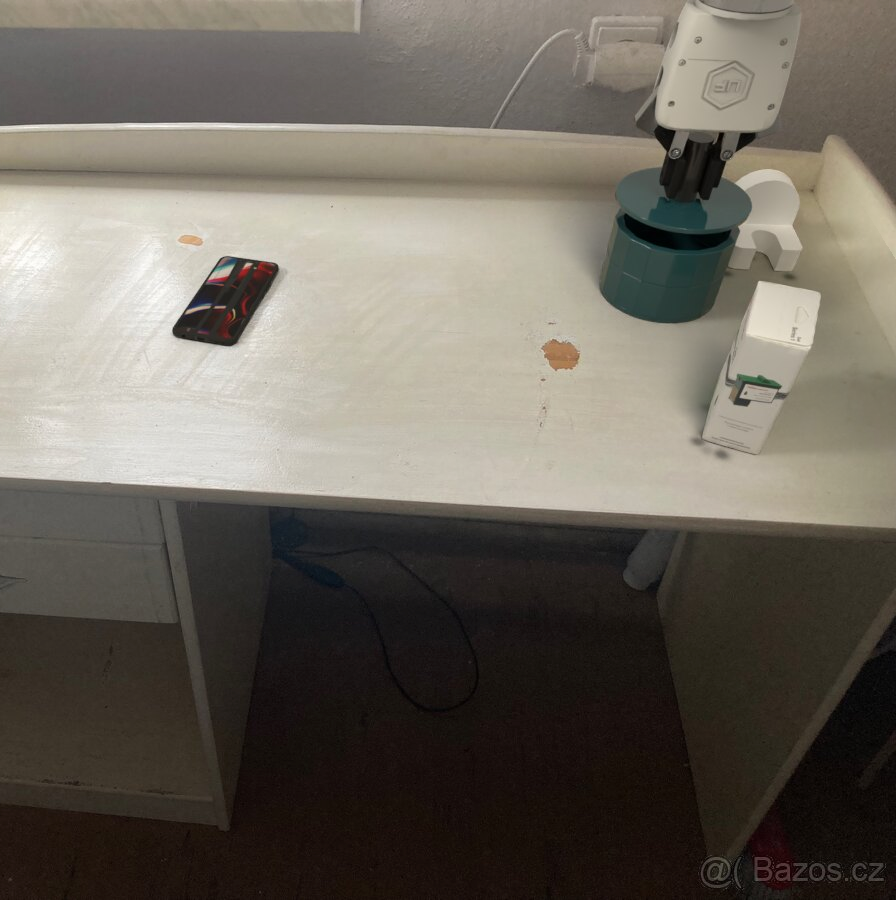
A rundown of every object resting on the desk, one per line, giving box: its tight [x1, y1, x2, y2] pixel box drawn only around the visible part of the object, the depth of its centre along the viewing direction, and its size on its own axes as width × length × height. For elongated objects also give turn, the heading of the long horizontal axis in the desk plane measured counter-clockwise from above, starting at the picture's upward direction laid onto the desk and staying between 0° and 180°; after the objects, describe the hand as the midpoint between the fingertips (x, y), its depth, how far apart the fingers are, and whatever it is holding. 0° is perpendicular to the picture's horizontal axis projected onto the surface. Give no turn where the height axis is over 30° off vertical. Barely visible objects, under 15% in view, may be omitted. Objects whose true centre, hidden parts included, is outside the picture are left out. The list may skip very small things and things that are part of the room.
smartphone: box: [171, 255, 280, 346], centre depth 93 cm, size 7×1×15 cm
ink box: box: [701, 280, 822, 455], centre depth 73 cm, size 9×5×12 cm, turn 153°
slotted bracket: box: [727, 168, 803, 272], centre depth 95 cm, size 13×7×8 cm, turn 171°
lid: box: [614, 131, 752, 234], centre depth 83 cm, size 13×13×6 cm
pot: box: [599, 207, 740, 324], centre depth 89 cm, size 12×12×8 cm
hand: (685, 191), depth 84 cm, fingers closed on lid, 2 cm apart
